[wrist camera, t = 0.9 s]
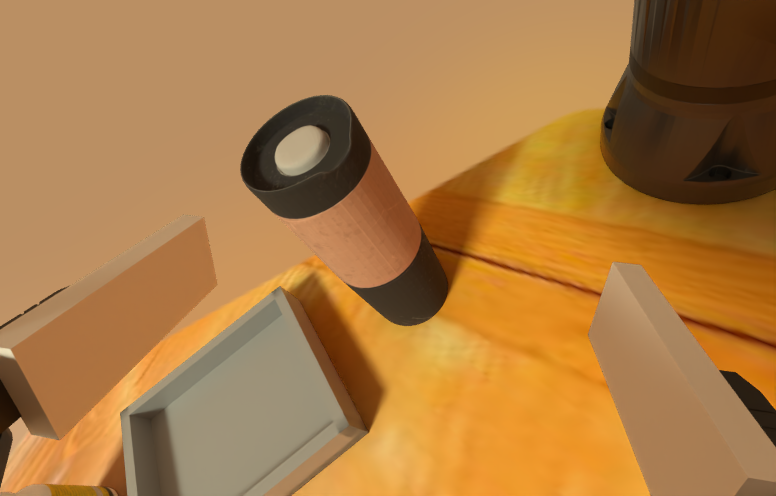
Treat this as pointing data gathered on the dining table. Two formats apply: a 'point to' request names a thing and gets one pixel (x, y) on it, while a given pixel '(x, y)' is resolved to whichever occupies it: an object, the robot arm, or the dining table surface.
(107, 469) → the dining table surface
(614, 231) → the dining table surface
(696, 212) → the dining table surface
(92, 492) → the supplement bottle
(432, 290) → the travel mug
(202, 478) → the tray
